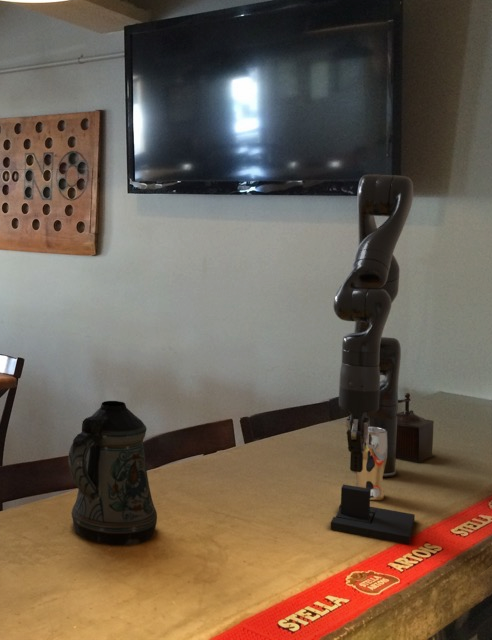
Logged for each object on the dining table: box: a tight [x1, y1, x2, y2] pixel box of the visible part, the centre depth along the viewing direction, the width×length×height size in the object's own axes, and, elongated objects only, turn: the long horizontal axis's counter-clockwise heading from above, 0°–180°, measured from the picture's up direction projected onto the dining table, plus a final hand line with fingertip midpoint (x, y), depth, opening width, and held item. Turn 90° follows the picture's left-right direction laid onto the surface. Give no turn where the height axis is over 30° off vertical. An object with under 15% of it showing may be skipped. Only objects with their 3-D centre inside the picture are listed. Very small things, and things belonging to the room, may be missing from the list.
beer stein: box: [67, 400, 158, 546], centre depth 156 cm, size 16×19×25 cm
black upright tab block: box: [335, 484, 374, 524], centre depth 164 cm, size 6×6×7 cm
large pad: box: [330, 503, 416, 545], centre depth 162 cm, size 14×14×2 cm
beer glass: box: [355, 426, 388, 501], centre depth 180 cm, size 7×7×15 cm
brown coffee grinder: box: [396, 392, 435, 463], centre depth 215 cm, size 16×11×18 cm
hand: (356, 470), depth 164 cm, fingers closed
